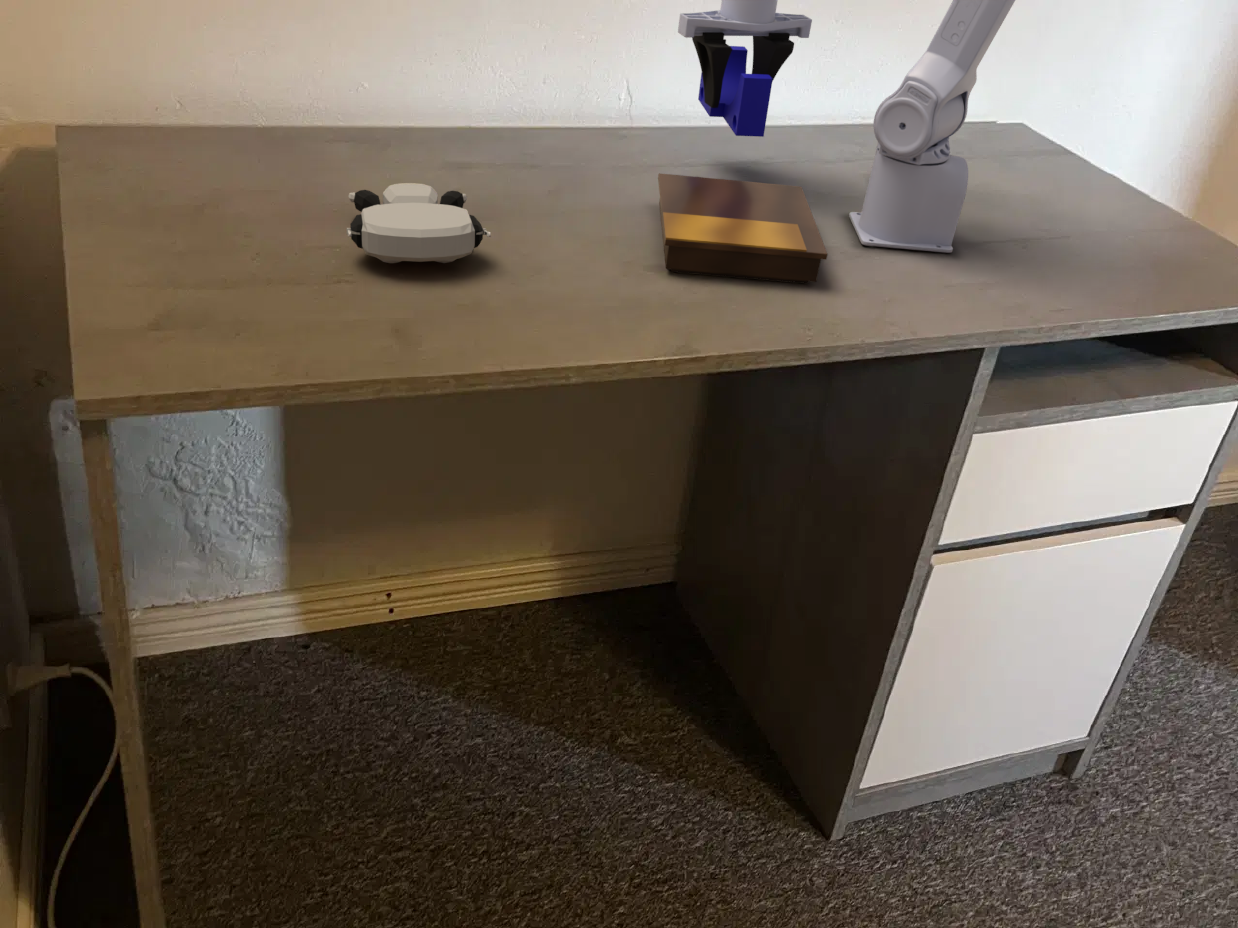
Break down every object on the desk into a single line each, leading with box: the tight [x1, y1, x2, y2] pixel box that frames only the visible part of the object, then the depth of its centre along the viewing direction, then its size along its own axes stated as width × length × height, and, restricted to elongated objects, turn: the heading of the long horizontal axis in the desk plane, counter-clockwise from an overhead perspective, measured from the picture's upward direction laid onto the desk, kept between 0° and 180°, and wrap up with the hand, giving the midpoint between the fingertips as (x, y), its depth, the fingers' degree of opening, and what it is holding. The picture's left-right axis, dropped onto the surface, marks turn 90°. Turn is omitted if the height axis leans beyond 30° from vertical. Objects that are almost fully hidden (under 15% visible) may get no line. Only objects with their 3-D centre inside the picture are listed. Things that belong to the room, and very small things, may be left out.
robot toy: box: [346, 182, 492, 264], centre depth 105 cm, size 12×4×15 cm
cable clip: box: [697, 45, 774, 138], centre depth 123 cm, size 12×4×6 cm, turn 9°
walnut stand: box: [657, 173, 829, 285], centre depth 112 cm, size 15×17×4 cm
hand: (733, 104), depth 124 cm, fingers closed on cable clip, 5 cm apart
